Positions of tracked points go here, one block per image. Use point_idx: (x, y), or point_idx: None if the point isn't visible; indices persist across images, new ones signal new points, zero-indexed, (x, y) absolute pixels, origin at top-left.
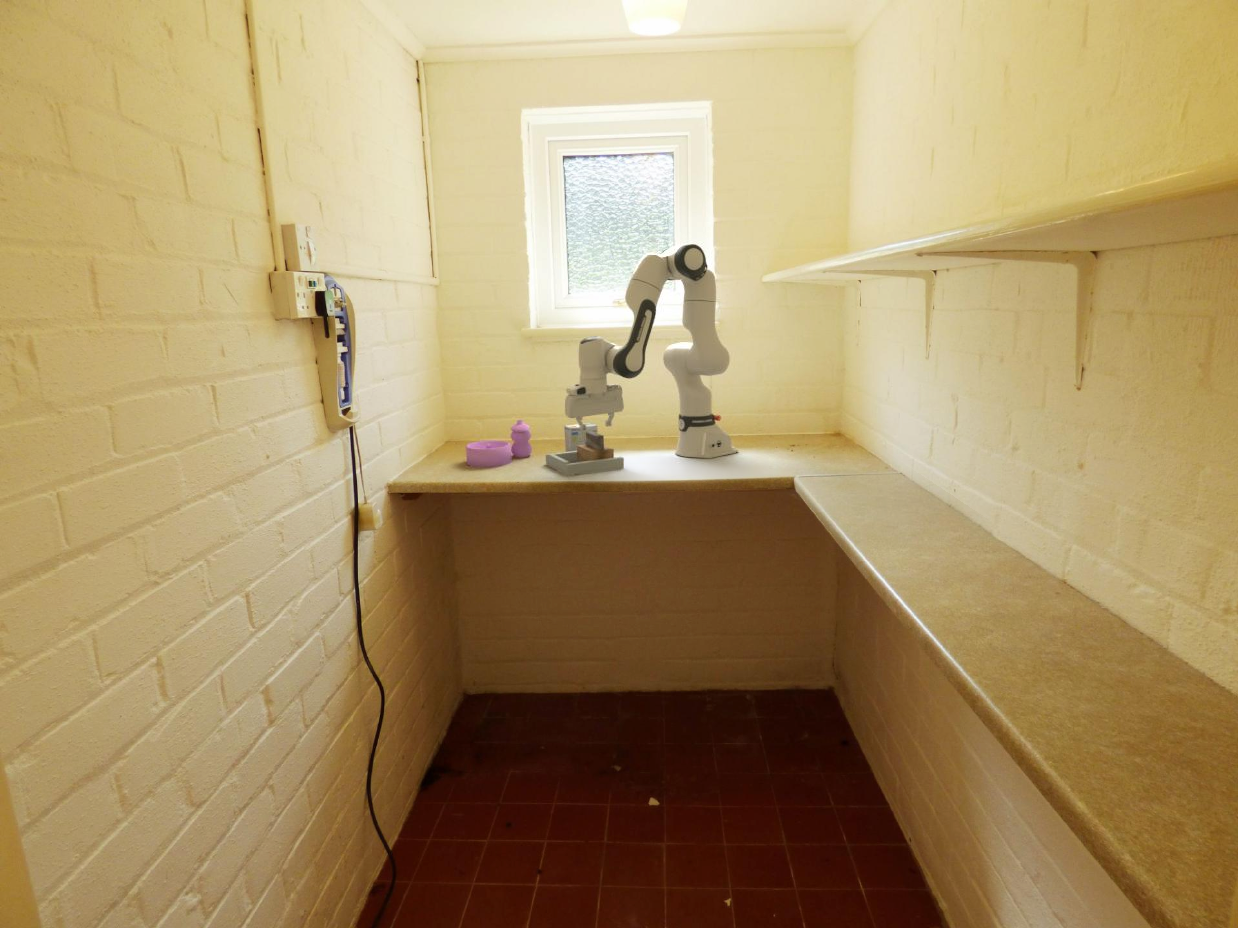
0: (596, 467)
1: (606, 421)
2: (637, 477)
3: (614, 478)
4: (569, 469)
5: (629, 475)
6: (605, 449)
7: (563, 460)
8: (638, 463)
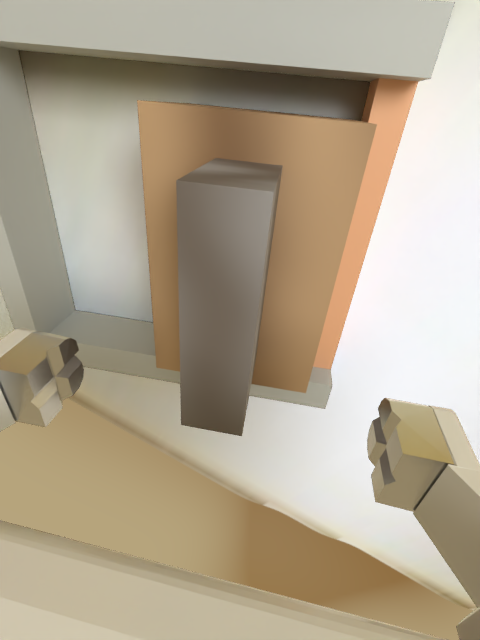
0: None
1: (392, 472)
2: (271, 473)
3: (202, 442)
4: None
5: (266, 447)
6: (255, 376)
7: (15, 299)
8: (451, 347)
